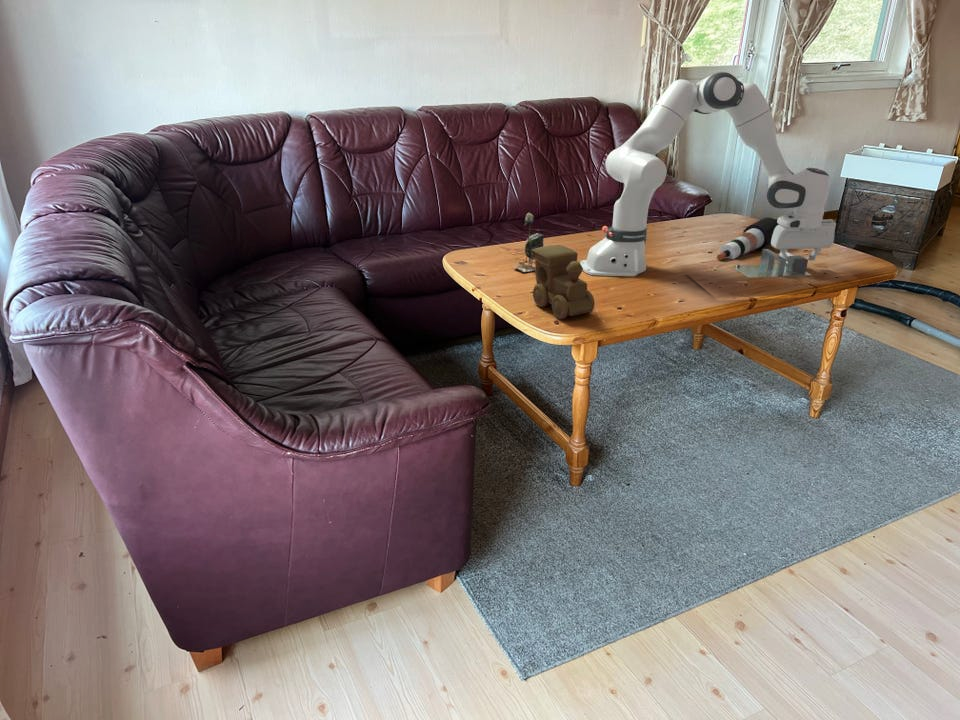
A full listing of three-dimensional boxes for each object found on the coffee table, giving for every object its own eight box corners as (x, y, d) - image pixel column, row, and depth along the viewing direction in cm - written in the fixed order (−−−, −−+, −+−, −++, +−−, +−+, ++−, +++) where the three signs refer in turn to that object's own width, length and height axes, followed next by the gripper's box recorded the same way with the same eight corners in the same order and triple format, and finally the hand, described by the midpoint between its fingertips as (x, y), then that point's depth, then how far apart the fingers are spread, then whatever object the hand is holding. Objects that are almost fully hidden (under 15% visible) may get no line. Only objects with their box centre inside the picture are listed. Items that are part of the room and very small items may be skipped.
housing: (747, 280, 220) (751, 260, 217) (731, 268, 231) (734, 250, 228) (811, 277, 222) (815, 258, 219) (792, 266, 233) (796, 247, 230)
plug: (776, 260, 235) (778, 249, 234) (786, 260, 236) (789, 249, 234) (794, 271, 225) (796, 260, 223) (805, 271, 225) (808, 259, 223)
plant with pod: (549, 269, 230) (552, 211, 221) (520, 274, 226) (522, 215, 217) (537, 263, 237) (539, 206, 228) (509, 267, 232) (510, 209, 224)
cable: (712, 273, 240) (702, 247, 238) (761, 246, 258) (752, 221, 257) (736, 267, 231) (726, 240, 230) (785, 239, 250) (776, 214, 248)
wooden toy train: (527, 301, 203) (528, 248, 196) (558, 295, 208) (561, 243, 201) (564, 324, 187) (567, 267, 180) (597, 317, 192) (602, 261, 185)
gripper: (831, 216, 223) (822, 256, 230) (773, 218, 221) (765, 258, 228) (842, 221, 218) (832, 262, 224) (782, 223, 216) (774, 264, 222)
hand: (798, 260), depth 226 cm, fingers open, 8 cm apart
